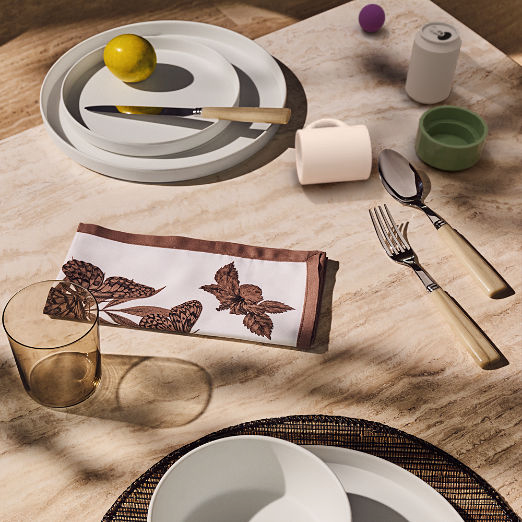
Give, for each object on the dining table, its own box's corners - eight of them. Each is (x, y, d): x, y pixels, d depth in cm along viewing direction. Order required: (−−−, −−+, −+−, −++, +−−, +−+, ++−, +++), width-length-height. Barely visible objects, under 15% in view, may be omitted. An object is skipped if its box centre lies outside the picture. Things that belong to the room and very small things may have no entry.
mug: (368, 190, 101) (374, 148, 95) (301, 195, 100) (303, 154, 94) (352, 138, 109) (357, 97, 103) (290, 143, 108) (292, 101, 102)
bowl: (468, 128, 110) (475, 102, 106) (489, 170, 103) (497, 144, 100) (406, 133, 109) (411, 107, 105) (423, 176, 103) (429, 150, 99)
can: (432, 112, 113) (447, 48, 104) (395, 94, 116) (406, 31, 107) (457, 92, 116) (473, 28, 107) (420, 75, 120) (432, 12, 110)
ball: (380, 22, 131) (383, -3, 127) (386, 36, 128) (389, 11, 124) (354, 24, 131) (357, -1, 127) (360, 38, 128) (363, 13, 124)
